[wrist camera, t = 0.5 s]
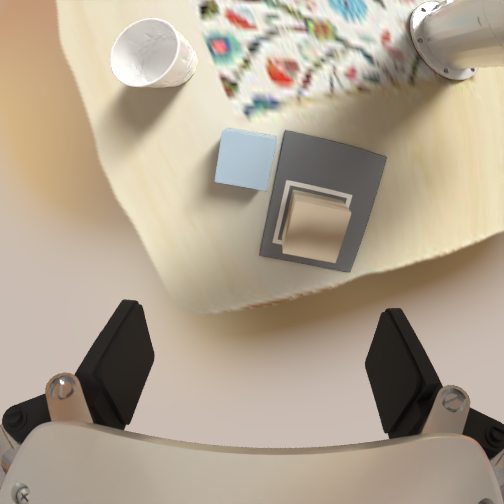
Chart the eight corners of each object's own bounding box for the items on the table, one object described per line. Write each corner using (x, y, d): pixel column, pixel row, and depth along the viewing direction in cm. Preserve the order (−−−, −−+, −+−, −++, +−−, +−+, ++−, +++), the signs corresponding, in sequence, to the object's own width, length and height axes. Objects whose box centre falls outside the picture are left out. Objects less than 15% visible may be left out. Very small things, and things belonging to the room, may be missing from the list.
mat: (285, 130, 35) (285, 130, 35) (385, 156, 35) (387, 157, 35) (259, 254, 43) (259, 255, 43) (349, 271, 44) (350, 272, 43)
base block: (292, 189, 38) (295, 200, 34) (342, 200, 38) (351, 212, 34) (281, 236, 41) (282, 253, 37) (329, 246, 42) (335, 263, 37)
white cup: (171, 28, 29) (142, 7, 20) (214, 57, 31) (195, 40, 22) (135, 71, 32) (97, 64, 23) (175, 102, 34) (145, 101, 25)
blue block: (230, 127, 36) (222, 130, 30) (276, 135, 36) (276, 139, 30) (223, 171, 38) (214, 182, 33) (267, 179, 38) (266, 191, 33)
